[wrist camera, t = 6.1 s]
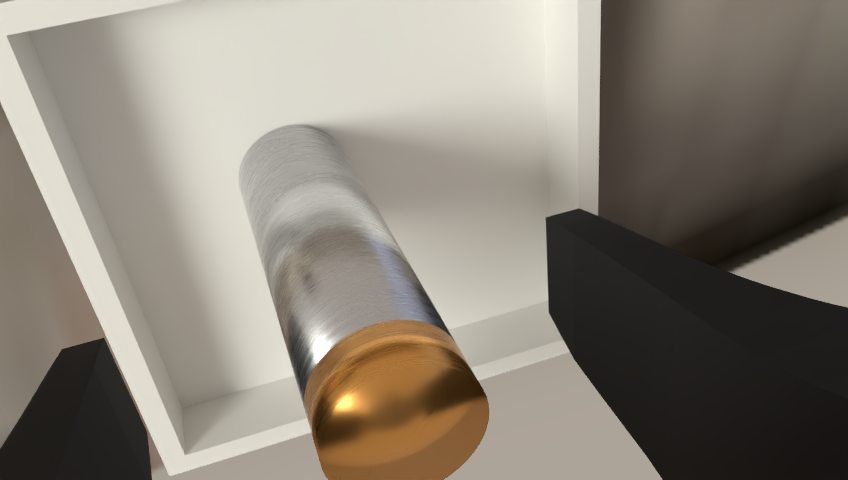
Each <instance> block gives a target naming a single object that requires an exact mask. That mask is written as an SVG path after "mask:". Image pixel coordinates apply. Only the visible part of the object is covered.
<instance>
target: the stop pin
mask: <svg viewBox="0 0 848 480" xmlns="http://www.w3.org/2000/svg"><path fill="white" fill-rule="evenodd" d="M239 188H240V191H241V195H242V198H243V201H244V205H245V208H246V212H247V215H248V218H249V222H250V225H251V229H252V232H253V235H254V239H255V242H256V246H257V249H258V252H259V256H260V259H261V263H262V266H263V269H264V273H265V276H266V280H267V283H268V286H269V290H270V293H271V297H272V300H273V303H274V307H275V310H276V314H277V317H278V321H279V324H280V327H281V331H282V334H283V338H284V341H285V344H286V348H287V351H288V355H289V358H290V361H291V365H292V368H293V372H294V375H295V378H296V382H297V385H298V389H299V392H300V395H301V399H302V402H303V406H304V409H305V412H306V416H307V419H308V423H309V426H310V429H311V433H312V436H313V440H314V443H315V446H316V449H317V453H318V457H319V460H320V463H321V467H322V470H323V472H324V473H325V476H326V477H327V478H328V480H444V479H445V478H447V477H448V476H449V475H451V474H452V473H453V472H455V471H456V470H457V469H458V468H460V467H461V466H462V465H463V464H464V463H465V462H466V461H467V460H468V459H469V457H470V456H471V455H472V453H473V452H474V451H475V450H476V448H477V447H478V445H479V444H480V442H481V440H482V438H483V436H484V434H485V431H486V428H487V424H488V420H489V406H488V405H489V404H488V401H487V397H486V394H485V393H484V390H483V389H482V387H481V385H480V383H479V382H478V380H477V378H476V377H475V375H474V373H473V371H472V370H471V368H470V366H469V365H468V363H467V361H466V359H465V358H464V356H463V354H462V353H461V351H460V349H459V347H458V346H457V344H456V342H455V341H454V339H453V337H452V335H451V334H450V332H449V330H448V329H447V327H446V325H445V324H444V322H443V320H442V318H441V317H440V315H439V313H438V312H437V310H436V308H435V306H434V305H433V303H432V301H431V300H430V298H429V296H428V294H427V293H426V291H425V289H424V288H423V286H422V284H421V282H420V281H419V279H418V277H417V276H416V274H415V272H414V270H413V269H412V267H411V265H410V264H409V262H408V260H407V259H406V257H405V255H404V253H403V252H402V250H401V248H400V247H399V245H398V243H397V241H396V240H395V238H394V236H393V235H392V233H391V231H390V229H389V228H388V226H387V224H386V223H385V221H384V219H383V217H382V216H381V214H380V212H379V211H378V209H377V207H376V205H375V204H374V202H373V200H372V199H371V197H370V195H369V194H368V192H367V190H366V188H365V187H364V185H363V183H362V182H361V180H360V178H359V176H358V175H357V173H356V171H355V170H354V168H353V166H352V164H351V163H350V161H349V159H348V158H347V156H346V154H345V152H344V151H343V149H342V147H341V146H340V145H339V143H338V142H337V141H336V140H335V139H334V138H333V137H332V136H330V135H329V134H328V133H326V132H324V131H322V130H320V129H317V128H315V127H311V126H305V125H290V126H284V127H280V128H277V129H275V130H272V131H270V132H268V133H266V134H265V135H263V136H262V137H260V138H259V139H258V140H257V141H256V142H254V143H253V145H252V146H251V147H250V148H249V149H248V151H247V152H246V154H245V156H244V158H243V160H242V162H241V166H240V170H239Z"/></svg>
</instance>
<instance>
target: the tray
mask: <svg viewBox="0 0 848 480" xmlns="http://www.w3.org/2000/svg"><path fill="white" fill-rule="evenodd" d="M600 30H601V0H0V102H1V105H2V107H3V109H4V111H5V113H6V116H7V118H8V120H9V122H10V125H11V127H12V129H13V131H14V133H15V136H16V138H17V140H18V142H19V144H20V147H21V149H22V151H23V153H24V155H25V158H26V160H27V162H28V164H29V167H30V169H31V171H32V173H33V175H34V178H35V180H36V182H37V184H38V186H39V189H40V191H41V193H42V195H43V197H44V200H45V202H46V204H47V206H48V209H49V211H50V213H51V215H52V217H53V220H54V222H55V224H56V226H57V228H58V231H59V233H60V235H61V237H62V239H63V242H64V244H65V246H66V248H67V251H68V253H69V255H70V257H71V259H72V262H73V264H74V266H75V268H76V270H77V273H78V275H79V277H80V279H81V281H82V284H83V286H84V288H85V290H86V293H87V295H88V297H89V299H90V301H91V304H92V306H93V308H94V310H95V312H96V315H97V317H98V319H99V321H100V323H101V326H102V328H103V330H104V332H105V334H106V337H107V339H108V341H109V343H110V346H111V348H112V350H113V352H114V354H115V357H116V359H117V361H118V363H119V365H120V368H121V370H122V372H123V374H124V376H125V379H126V381H127V383H128V385H129V388H130V390H131V392H132V394H133V396H134V399H135V401H136V403H137V405H138V407H139V410H140V412H141V414H142V416H143V418H144V421H145V423H146V425H147V427H148V430H149V432H150V434H151V436H152V438H153V441H154V443H155V445H156V447H157V449H158V452H159V454H160V456H161V458H162V460H163V463H164V465H165V467H166V469H167V471H168V474H169V476H172V475H175V474H179V473H182V472H185V471H188V470H192V469H195V468H198V467H201V466H205V465H208V464H211V463H214V462H217V461H221V460H224V459H227V458H230V457H234V456H237V455H240V454H243V453H246V452H250V451H253V450H256V449H259V448H263V447H266V446H269V445H272V444H275V443H279V442H282V441H285V440H288V439H292V438H295V437H298V436H301V435H305V434H308V433H311V429H310V426H309V423H308V419H307V416H306V412H305V409H304V406H303V402H302V399H301V395H300V392H299V389H298V385H297V382H296V378H295V375H294V372H293V368H292V365H291V361H290V358H289V355H288V351H287V348H286V344H285V341H284V338H283V334H282V331H281V327H280V324H279V321H278V317H277V314H276V310H275V307H274V303H273V300H272V297H271V293H270V290H269V286H268V283H267V280H266V276H265V273H264V269H263V266H262V263H261V259H260V256H259V252H258V249H257V246H256V242H255V239H254V235H253V232H252V229H251V225H250V222H249V218H248V215H247V212H246V208H245V205H244V201H243V198H242V195H241V191H240V188H239V170H240V166H241V162H242V160H243V158H244V156H245V154H246V152H247V151H248V149H249V148H250V147H251V146H252V145H253V143H254V142H256V141H257V140H258V139H259V138H260V137H262V136H263V135H265V134H266V133H268V132H270V131H272V130H275V129H277V128H280V127H284V126H290V125H305V126H311V127H315V128H317V129H320V130H322V131H324V132H326V133H328V134H329V135H330V136H332V137H333V138H334V139H335V140H336V141H337V142H338V143H339V145H340V146H341V147H342V149H343V151H344V152H345V154H346V156H347V158H348V159H349V161H350V163H351V164H352V166H353V168H354V170H355V171H356V173H357V175H358V176H359V178H360V180H361V182H362V183H363V185H364V187H365V188H366V190H367V192H368V194H369V195H370V197H371V199H372V200H373V202H374V204H375V205H376V207H377V209H378V211H379V212H380V214H381V216H382V217H383V219H384V221H385V223H386V224H387V226H388V228H389V229H390V231H391V233H392V235H393V236H394V238H395V240H396V241H397V243H398V245H399V247H400V248H401V250H402V252H403V253H404V255H405V257H406V259H407V260H408V262H409V264H410V265H411V267H412V269H413V270H414V272H415V274H416V276H417V277H418V279H419V281H420V282H421V284H422V286H423V288H424V289H425V291H426V293H427V294H428V296H429V298H430V300H431V301H432V303H433V305H434V306H435V308H436V310H437V312H438V313H439V315H440V317H441V318H442V320H443V322H444V324H445V325H446V327H447V329H448V330H449V332H450V334H451V335H452V337H453V339H454V341H455V342H456V344H457V346H458V347H459V349H460V351H461V353H462V354H463V356H464V358H465V359H466V361H467V363H468V365H469V366H470V368H471V370H472V371H473V373H474V375H475V377H476V378H477V380H478V381H479V380H482V379H485V378H488V377H492V376H494V375H498V374H501V373H504V372H508V371H511V370H514V369H517V368H520V367H524V366H527V365H530V364H533V363H537V362H540V361H543V360H546V359H550V358H553V357H556V356H559V355H562V354H566V353H569V352H570V351H569V349H568V347H567V345H566V344H565V342H564V340H563V338H562V337H561V335H560V333H559V331H558V329H557V327H556V325H555V323H554V322H553V320H552V318H551V316H550V314H549V307H548V276H547V244H546V217H549V216H553V215H556V214H560V213H564V212H567V211H571V210H575V209H578V208H580V209H582V210H585V211H587V212H590V213H592V214H595V215H597V216H598V182H599V106H600Z"/></svg>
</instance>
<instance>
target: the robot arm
mask: <svg viewBox="0 0 848 480" xmlns="http://www.w3.org/2000/svg"><path fill="white" fill-rule="evenodd" d="M546 244H547V276H548V307H549V314H550V316H551V318H552V320H553V322H554V323H555V325H556V327H557V329H558V331H559V333H560V335H561V337H562V338H563V340H564V342H565V344H566V345H567V347H568V349H569V351H570V352H571V354H572V356H573V358H574V359H575V361H576V362H577V364H578V365H579V366H580V368H581V369H582V371H583V372H584V373H585V375H586V376H587V377H588V378H589V380H590V381H591V383H592V384H593V385H594V387H595V388H596V389H597V391H598V392H599V394H600V395H601V396H602V398H603V399H604V400H605V402H606V403H607V404H608V405H609V407H610V408H611V409H612V411H613V412H614V413H615V415H616V416H617V417H618V419H619V420H620V421H621V423H622V424H623V425H624V426H625V428H626V429H627V431H628V432H629V433H630V435H631V436H632V437H633V439H634V440H635V441H636V443H637V444H638V445H639V447H640V448H641V449H642V451H643V452H644V453H645V455H646V456H647V457H648V459H649V460H650V461H651V463H652V465H653V466H654V467H655V469H656V470H657V472H658V473H659V475H660V476H661V478H662V479H663V480H848V308H847V307H842V306H838V305H833V304H830V303H825V302H822V301H818V300H814V299H810V298H807V297H803V296H800V295H797V294H793V293H790V292H786V291H783V290H780V289H776V288H773V287H770V286H766V285H763V284H760V283H757V282H754V281H751V280H748V279H746V278H743V277H740V276H737V275H735V274H732V273H729V272H727V271H724V270H721V269H719V268H716V267H713V266H711V265H708V264H706V263H703V262H701V261H698V260H696V259H694V258H691V257H689V256H686V255H684V254H682V253H679V252H677V251H675V250H672V249H670V248H668V247H665V246H663V245H661V244H659V243H656V242H654V241H652V240H650V239H648V238H645V237H643V236H641V235H639V234H637V233H634V232H632V231H630V230H628V229H626V228H624V227H621V226H619V225H617V224H615V223H613V222H610V221H608V220H606V219H604V218H602V217H599V216H597V215H595V214H592V213H590V212H587V211H585V210H582V209H580V208H578V209H575V210H571V211H567V212H564V213H560V214H556V215H553V216H549V217H546ZM0 480H152V476H151V465H150V455H149V446H148V437H147V431H146V429H145V427H144V425H143V422H142V420H141V418H140V416H139V414H138V411H137V409H136V407H135V405H134V403H133V400H132V398H131V396H130V394H129V392H128V389H127V387H126V385H125V383H124V381H123V378H122V376H121V374H120V372H119V370H118V367H117V365H116V363H115V361H114V359H113V356H112V354H111V352H110V350H109V348H108V346H107V343H106V341H105V339H104V338H102V339H98V340H94V341H91V342H87V343H83V344H80V345H76V346H72V347H69V348H65V349H62V350H61V352H60V353H59V355H58V357H57V358H56V360H55V361H54V363H53V364H52V366H51V368H50V369H49V371H48V372H47V374H46V376H45V377H44V379H43V381H42V382H41V384H40V386H39V387H38V389H37V391H36V392H35V394H34V396H33V397H32V399H31V401H30V402H29V404H28V406H27V407H26V409H25V411H24V412H23V414H22V416H21V417H20V419H19V420H18V422H17V424H16V425H15V427H14V428H13V430H12V431H11V433H10V435H9V436H8V438H7V439H6V441H5V442H4V444H3V445H2V447H1V449H0Z"/></svg>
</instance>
